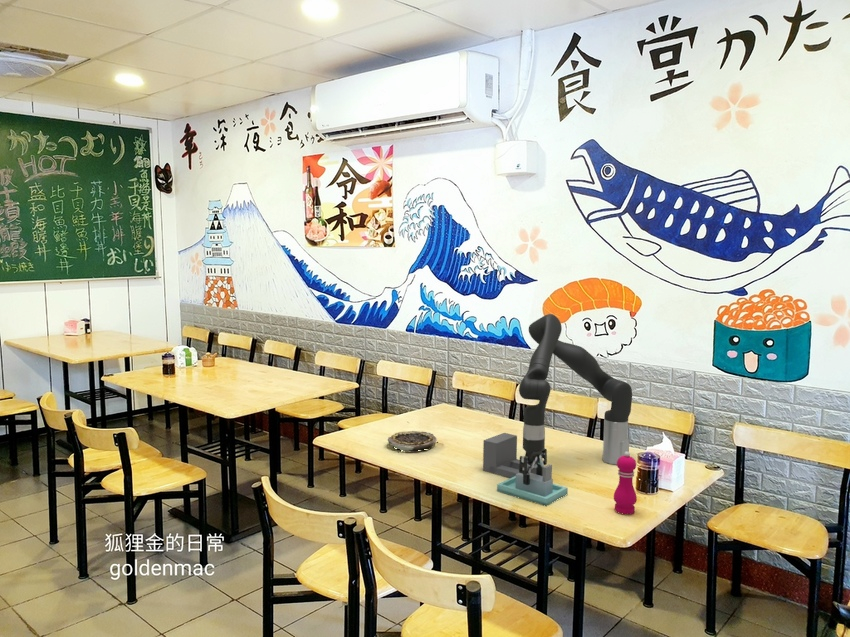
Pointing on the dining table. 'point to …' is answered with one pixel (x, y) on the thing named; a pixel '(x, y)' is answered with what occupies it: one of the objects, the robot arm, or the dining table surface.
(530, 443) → the robot arm
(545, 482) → the grey block with peg
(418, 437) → the pie
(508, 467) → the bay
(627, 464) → the pepper mill
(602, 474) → the dining table surface
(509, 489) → the tray
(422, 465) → the dining table surface
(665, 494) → the dining table surface
